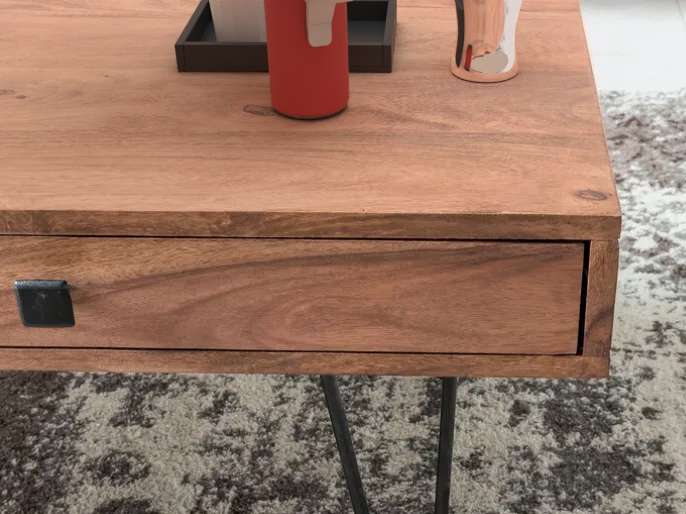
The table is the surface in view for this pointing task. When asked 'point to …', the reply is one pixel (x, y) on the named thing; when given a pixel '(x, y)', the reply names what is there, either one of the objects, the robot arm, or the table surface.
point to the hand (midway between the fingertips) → (306, 27)
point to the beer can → (305, 62)
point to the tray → (209, 55)
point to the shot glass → (239, 20)
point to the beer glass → (486, 40)
